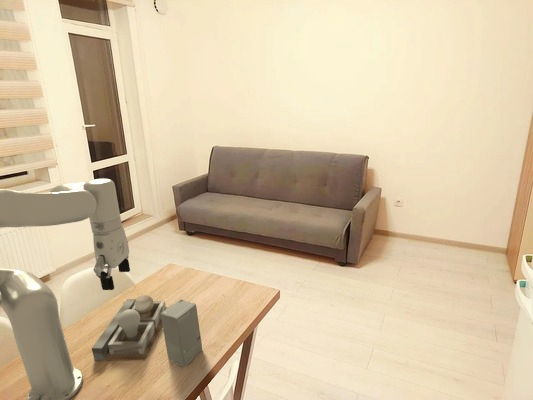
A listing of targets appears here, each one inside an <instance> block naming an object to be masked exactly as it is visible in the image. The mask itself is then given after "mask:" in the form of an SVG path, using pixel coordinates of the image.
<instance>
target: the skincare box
mask: <svg viewBox="0 0 533 400" xmlns="http://www.w3.org/2000/svg"><path fill="white" fill-rule="evenodd" d="M168 307H169V308H168V309H166V310H165V311H163V312H162V313H161V314H160V315H161V320H162V331H163V335H164V341H165V346H166V354H167V359H168V361H170V362H172V363H174V364H176V365H179V366H181V367H183V368H186V367H187V366H188V365H189V364H190V363H191V361H192V360H193V359H195V358H196V357H197V356H198V355H199V354H200V353H201V351H203V344H202V335H201V330H200V323H199V317H198V309H197V304H196V303H194V302H191V301H187V300H184V299H179V300H177V301H176V302H175V303H174V304H171V305H169V306H168Z"/></svg>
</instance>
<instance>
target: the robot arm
mask: <svg viewBox="0 0 533 400" xmlns="http://www.w3.org/2000/svg"><path fill="white" fill-rule="evenodd" d="M88 218H89V223H90V229H91V233H92V234H93V235H92V236H93V237H92V238H93V249H94V256H95V265H94V267H93V269H92V270H93V272H94V273H95V274H96V275H95V276H96V277H98V278H99V279H100V287H101V290H103V291H113V290H114V289H115V284H114V279H113V275H112V269H116V268H117V267H118V272H119V273H130V272H131V268H130V262H129V254H130V248H129V241H128V239H127V234H126V232H125V229H124V226H123V224H122V218H121V213H120V208H119V201H118V195H117V189H116V185H115V182H114V181H113V180H112V179H109V178H96V179H91V180H89V181H85V182H77V183H64V184H63V183H62V184H59V185H57V186H55V187H53V188H52V189H50V191H49V192H27V191H19V190H13V189H7V188H0V228H27V227H29V228H30V227H31V228H33V227H34V228H35V227H52V226H60V225H66V224H72V223H78V222H82V221H85V220H87V219H88ZM104 270H106V271H104ZM0 308H2V310H3V312H4V313H5V315H6V316H7V318H8V320H9V322H10V323H9V324H10V325H11V329H12V333H13V337H14V341H15V344H16V348H17V350H18V352H19V355H20V358H21V361H22V364H23V367H24V370H25V373H26V376H27V379H28V383H29V384H30V389H29V391H28V393H27V395H26V400H70V399H71V398H73V397H74V396H75V395H76V394H77V392H78V391H79V390H80V389H81V387H82V385H83V383H84V382H83V381H84V376H83V373H82V372H81V370H79V369H78V368H75V367H74V366H73V363H72V359H71V356H70V352H69V348H68V344H67V341H66V338H65V334H64V330H63V326H62V324H61V319H60V313H59V305H58V300H57V298H56V295H55V294H54V292H53V290H52V289H51V288H50V287H49V286H48V285H47V284H46V283H45V282H44V281H43V280H41V279H40V278H39V277H38V276H37V275H35V274H33V273H31V272H29V271H25V270H18V269H9V268H0Z"/></svg>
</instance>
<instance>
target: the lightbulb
mask: <svg viewBox="0 0 533 400" xmlns="http://www.w3.org/2000/svg"><path fill="white" fill-rule="evenodd" d="M139 322H140V315H139V313H138V312H137V311H136V310H133V309H128V310H125V311H124V312H122V313H121V315H120V317H119V320H118V323H119V326H120V327H121V328H122V329H123V330H124V331H125V332H126V335H127V337H128V339H129V342H131V341H136V340H137V339H138V337H137V333H138V331H137V328H138V325H139Z"/></svg>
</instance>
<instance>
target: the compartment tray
mask: <svg viewBox="0 0 533 400" xmlns="http://www.w3.org/2000/svg"><path fill="white" fill-rule="evenodd" d="M168 308H169V306H166V301H164V300H160V301H158V300H156V301H154V299H153V297H152V296H151V295H149V294H141V295H139V296H138V297H137V298H128V299H126V300H125V302H124V303H123V304H122V306H121V307H120V308H119V310H118V311H117V312H116V314H115V316H114V317H113V318H112V319H111V321H110V322H109V324H107V327H106V328H105V329H104V331H103V332H102V333H101V335H100V336H99V337H98V338H97V340H96V342H95V343H94V345H93V346H92V347H91V351H92V355H93V360H94V361H98V362H99V361H102V362H103V361H104V362H105V361H146V359H147V357H148V356H149V353H150V351H151V350H152V347H153V346H154V344H155V341H156V339H157V337H158V336H159V333H160V331H161V329H162V328H163V325H162V320H161V315H160V314H161V313H162V312H163V311H165V310H166V309H168ZM128 309H133V310H136V311H137V312H138V313H139V315H140V322H139V325H138V328H137V331H138V333H137V337H138V339H137V340H136V341H131V342H129V339H128V337H127V335H126V332H125V331H124V330H123V329H122V328H121V327H120V326H119V323H118V320H119V317H120V315H121V313H122V312H124V311H125V310H128Z"/></svg>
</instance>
